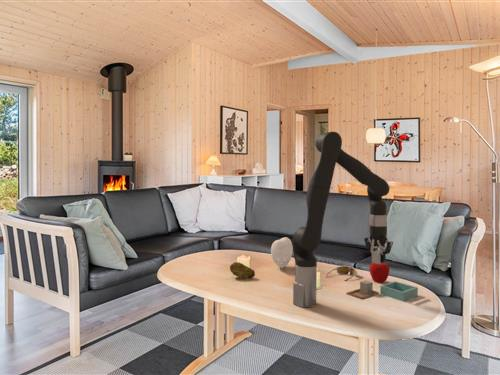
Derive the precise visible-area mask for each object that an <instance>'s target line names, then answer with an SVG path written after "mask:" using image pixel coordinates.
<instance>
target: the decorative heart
mask: <svg viewBox="0 0 500 375" xmlns="http://www.w3.org/2000/svg"><path fill="white" fill-rule="evenodd" d="M270 254H271V259H272V261H273V262H274V263H275V265H276V266H277V270H278V271H279V270H280V269H283V268H285V267H287V266H288V264H289V263H290V261H291V258H292V256H293V241H291V239H290V238H289V237H286V236H285V237H282V238H280V239H276V240H274V242H272V244H271V248H270Z"/></svg>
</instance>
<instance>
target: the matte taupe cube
mask: <svg viewBox="0 0 500 375" xmlns="http://www.w3.org/2000/svg"><path fill="white" fill-rule="evenodd" d="M371 263H377V264H381V252H380V250H378V249H376V250H375V251H372V259H371Z"/></svg>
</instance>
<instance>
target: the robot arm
mask: <svg viewBox="0 0 500 375" xmlns="http://www.w3.org/2000/svg"><path fill="white" fill-rule="evenodd" d="M314 144H315V145H314V146H315V148H316V150H317V151H318V152H320V157H319V162H318V164H317V166H316V168H315V170H314V172H313V173H312V175H311V178H310V179H309V183H308V188H307V191H306V199H305V200H306V201H305V202H306V208H307V219H306V224H305V226H299V227H298V228H296V229H295V231H294V233H293V236H292V237H293V238H292V246H293V252H292V256H293V258H294V261H295V262H294V264H295V266H294V282H292V283H293V285H292V286H293V287H292V288H293V289H292V296H293V297H292V298H293V299H292V304H293V305H295V306H298V307H300V308H313V307H315V306H316V305H317V282H318V281H317V277H318V276H317V273H318V272H317V271H318V270H317V268H318V265H317V264H318V260H317V259H318V258H316V256H315V254H314V252H313V251H315V250H317V248H319V245H320V243H321V239H322V234H323V222H324V217H325V212H326V207H327V204H328V201H329V197H330V196H329V195H330V191H331V185H332V182H333V177H334V172H335V169H336V168H335V167H336V165H339V166H340V167H341V168H342V169H344V170H346V172H347V173H348V174H349V175H350V176H352V177H353V178H354V179H355V180H356V181H358V182H359V183H360V184H361V185H363V186H366V187H367V189H366V192H367V198H368V203H369V206H370V207H369V237H364V238H363V239H364V242H365V246H366V250H367V252H368V251H369V252H370V258H371V260H372V251H375V250H377V248H378V249H379V251H380V252H381V263H385V262H386V258H387V257H386V256H387V255H388V254H390V253H391V251H392V248H393V244H394V242H393V241H392V240H388V237H387V235H388V217H387V203H386V202H385V201H384V200H383V197H386V196H387V195H388V194H389V192H390V186H389V184H388V182H387V181H386V180H385V179H383V178H382V177H380V176H379V175H378V174H376V173H374V172H373V171H372V170H371V169H370V168H369V167H367V166H366V164H365V163H363V162H361V161H360V160H359V159H357V158H355V157H353V156H352V155H351V154H349V153H347V152H345V151H344V150H343V149H342V145H343V139H342V137H341V135H340V134H339V133H338V132H337V131H328V132H324V133H321V134H319V135H318V136H317V137H316V138H315V143H314Z"/></svg>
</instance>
